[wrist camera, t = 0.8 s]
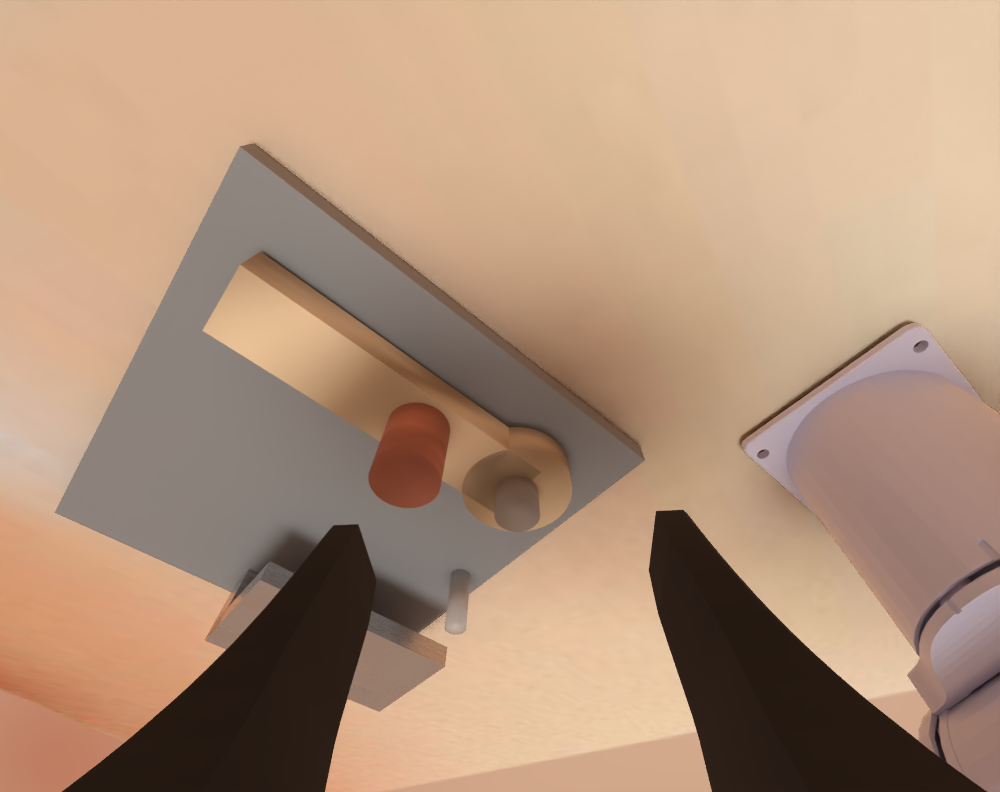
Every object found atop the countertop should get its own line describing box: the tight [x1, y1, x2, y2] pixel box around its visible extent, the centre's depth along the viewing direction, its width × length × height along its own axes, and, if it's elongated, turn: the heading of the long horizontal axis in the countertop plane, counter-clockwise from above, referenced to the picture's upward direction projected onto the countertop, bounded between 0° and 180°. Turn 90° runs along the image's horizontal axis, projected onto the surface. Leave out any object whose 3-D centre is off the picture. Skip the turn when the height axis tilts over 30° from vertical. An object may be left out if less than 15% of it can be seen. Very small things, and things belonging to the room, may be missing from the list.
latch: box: [202, 251, 572, 532], centre depth 18 cm, size 15×5×4 cm, turn 50°
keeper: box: [205, 561, 447, 711], centre depth 26 cm, size 10×6×4 cm, turn 50°
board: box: [55, 144, 645, 634], centre depth 22 cm, size 19×21×4 cm
